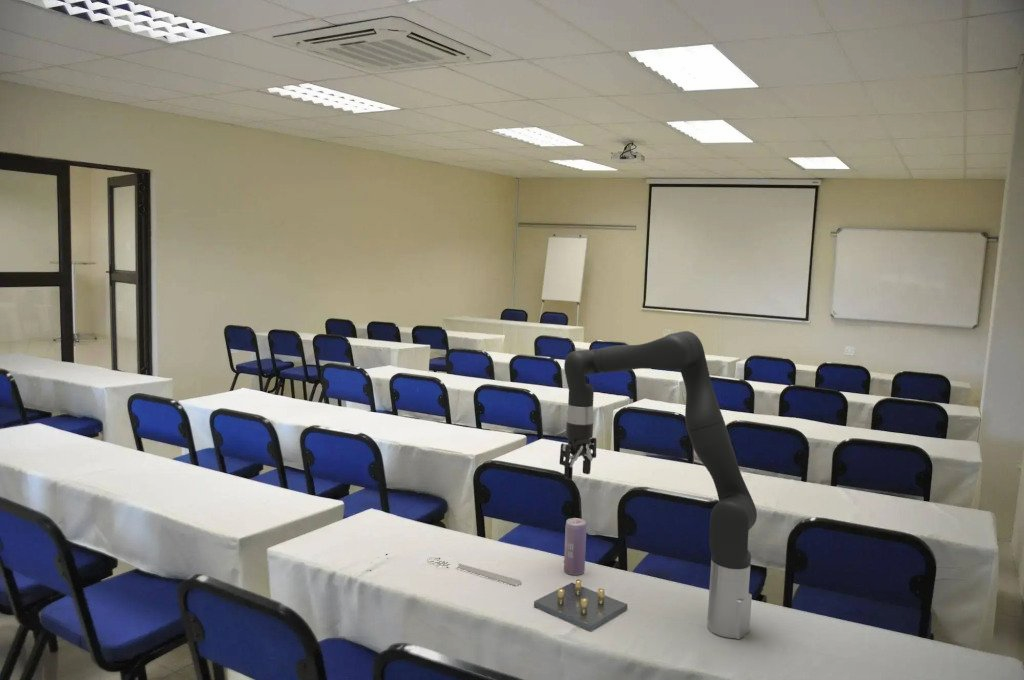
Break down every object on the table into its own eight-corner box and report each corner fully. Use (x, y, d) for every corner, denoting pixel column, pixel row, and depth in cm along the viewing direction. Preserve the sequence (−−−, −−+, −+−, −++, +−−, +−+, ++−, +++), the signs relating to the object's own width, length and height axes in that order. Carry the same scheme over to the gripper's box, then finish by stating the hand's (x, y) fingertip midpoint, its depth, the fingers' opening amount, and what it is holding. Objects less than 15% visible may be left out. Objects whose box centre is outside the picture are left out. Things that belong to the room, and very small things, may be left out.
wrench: (436, 554, 221) (436, 552, 221) (528, 580, 205) (528, 577, 205) (419, 564, 214) (419, 561, 214) (513, 591, 198) (513, 589, 198)
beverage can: (588, 571, 211) (590, 521, 210) (575, 577, 207) (577, 526, 205) (572, 565, 215) (574, 516, 214) (559, 571, 211) (561, 521, 209)
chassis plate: (627, 609, 188) (628, 591, 188) (590, 631, 177) (591, 611, 176) (571, 587, 200) (572, 570, 200) (533, 606, 189) (534, 588, 188)
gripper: (575, 426, 198) (572, 484, 200) (605, 419, 209) (602, 474, 211) (553, 421, 203) (551, 478, 205) (584, 415, 214) (581, 469, 216)
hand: (577, 476), depth 208 cm, fingers open, 8 cm apart
